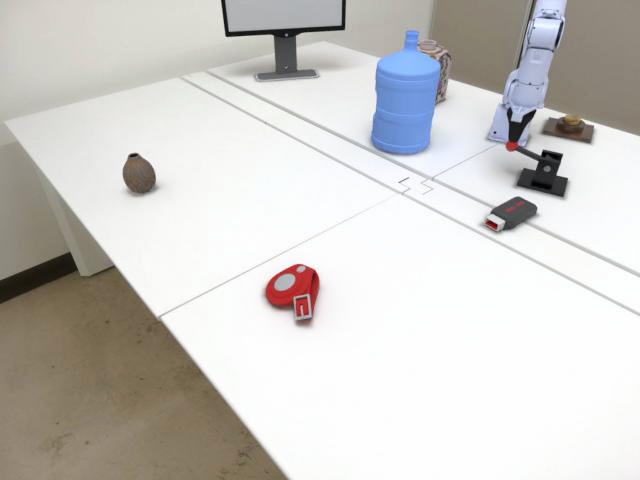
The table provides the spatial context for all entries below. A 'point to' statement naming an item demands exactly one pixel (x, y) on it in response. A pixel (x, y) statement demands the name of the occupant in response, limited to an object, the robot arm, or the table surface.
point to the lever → (524, 151)
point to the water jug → (405, 99)
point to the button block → (569, 130)
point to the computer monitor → (283, 27)
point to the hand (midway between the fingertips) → (513, 140)
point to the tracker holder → (295, 289)
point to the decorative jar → (444, 60)
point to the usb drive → (510, 214)
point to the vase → (138, 174)
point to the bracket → (545, 175)
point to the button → (572, 119)
